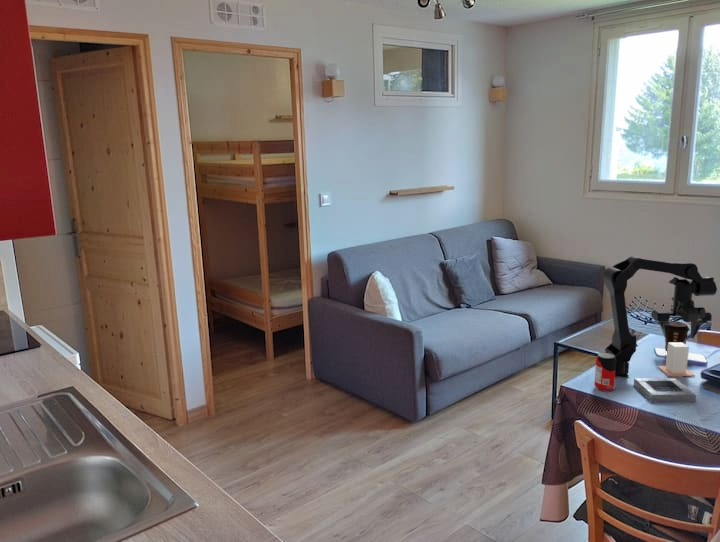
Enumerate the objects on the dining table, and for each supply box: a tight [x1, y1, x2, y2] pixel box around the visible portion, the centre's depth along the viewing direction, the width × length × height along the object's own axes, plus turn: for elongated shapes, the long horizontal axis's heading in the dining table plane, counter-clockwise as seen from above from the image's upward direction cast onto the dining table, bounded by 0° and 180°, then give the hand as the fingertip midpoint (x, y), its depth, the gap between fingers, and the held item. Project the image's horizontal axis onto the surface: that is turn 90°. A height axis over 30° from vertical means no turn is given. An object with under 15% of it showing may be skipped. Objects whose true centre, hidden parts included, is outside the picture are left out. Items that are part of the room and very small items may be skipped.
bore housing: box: [633, 377, 697, 403], centre depth 190 cm, size 14×14×2 cm
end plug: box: [665, 342, 690, 373], centre depth 207 cm, size 5×5×10 cm
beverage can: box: [593, 352, 616, 392], centre depth 194 cm, size 6×6×12 cm
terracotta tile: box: [657, 365, 696, 378], centre depth 208 cm, size 9×9×1 cm
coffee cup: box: [664, 320, 690, 352], centre depth 224 cm, size 9×8×13 cm
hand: (679, 338), depth 205 cm, fingers open, 9 cm apart
